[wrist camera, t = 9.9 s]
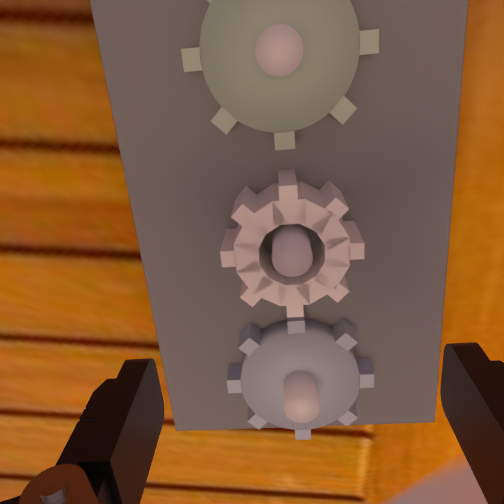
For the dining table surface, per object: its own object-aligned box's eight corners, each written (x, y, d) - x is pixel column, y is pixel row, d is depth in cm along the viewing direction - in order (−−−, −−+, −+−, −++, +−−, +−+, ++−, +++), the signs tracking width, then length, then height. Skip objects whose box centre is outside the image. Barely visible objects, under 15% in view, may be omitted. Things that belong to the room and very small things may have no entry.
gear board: (93, -40, 21) (41, -67, 16) (461, -84, 19) (519, -127, 15) (180, 413, 31) (163, 477, 26) (427, 404, 29) (454, 469, 25)
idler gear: (220, 174, 23) (212, 191, 20) (354, 164, 22) (364, 180, 19) (233, 291, 25) (228, 320, 23) (354, 285, 25) (363, 313, 22)
